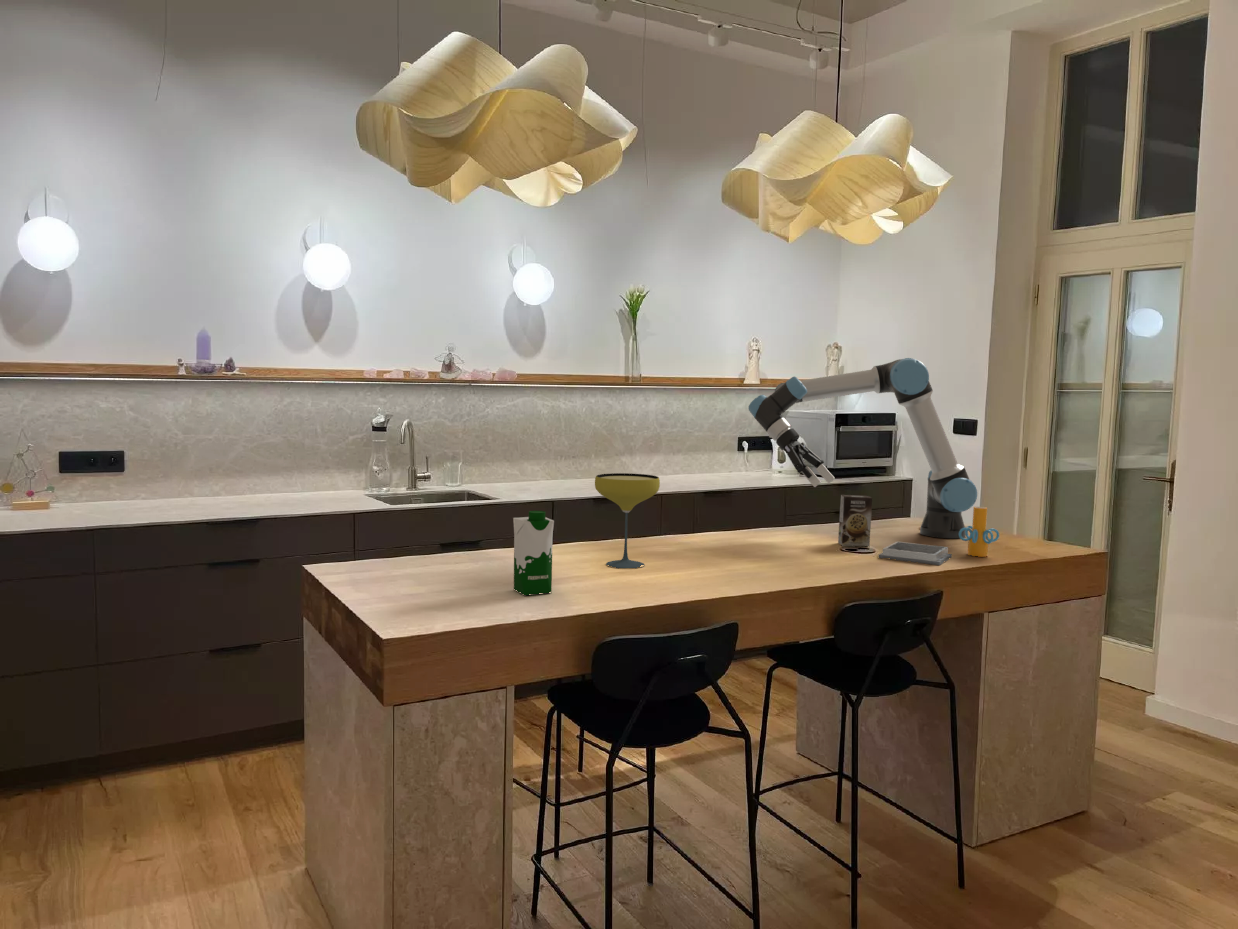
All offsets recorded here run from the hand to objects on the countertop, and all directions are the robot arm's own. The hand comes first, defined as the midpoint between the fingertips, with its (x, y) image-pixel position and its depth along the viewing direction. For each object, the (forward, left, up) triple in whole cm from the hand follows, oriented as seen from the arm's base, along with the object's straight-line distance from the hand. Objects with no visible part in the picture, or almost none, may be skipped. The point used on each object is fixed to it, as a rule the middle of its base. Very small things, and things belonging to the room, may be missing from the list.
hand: (825, 482), depth 308 cm
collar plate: (+9, +33, -19) cm, 39 cm away
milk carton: (+116, -32, -20) cm, 122 cm away
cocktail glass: (+74, -31, -20) cm, 83 cm away
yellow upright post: (-7, +48, -20) cm, 52 cm away
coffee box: (0, +11, -20) cm, 22 cm away
